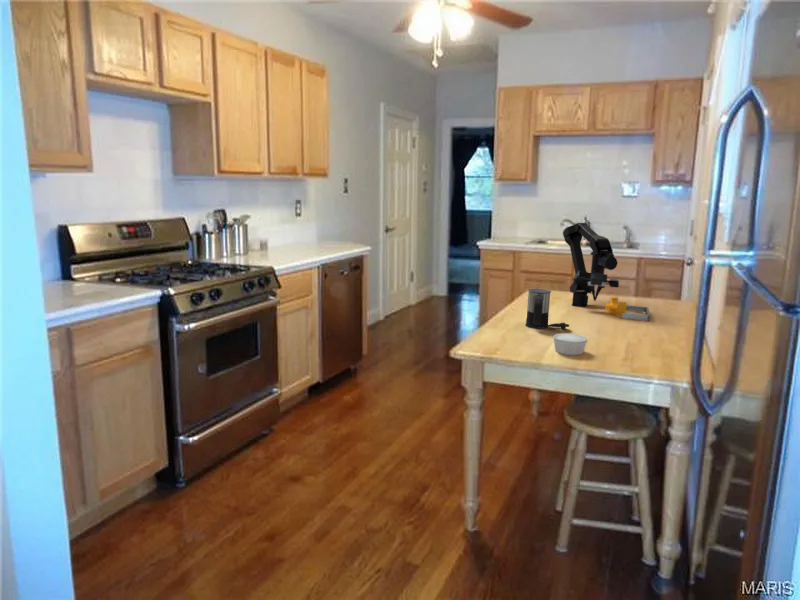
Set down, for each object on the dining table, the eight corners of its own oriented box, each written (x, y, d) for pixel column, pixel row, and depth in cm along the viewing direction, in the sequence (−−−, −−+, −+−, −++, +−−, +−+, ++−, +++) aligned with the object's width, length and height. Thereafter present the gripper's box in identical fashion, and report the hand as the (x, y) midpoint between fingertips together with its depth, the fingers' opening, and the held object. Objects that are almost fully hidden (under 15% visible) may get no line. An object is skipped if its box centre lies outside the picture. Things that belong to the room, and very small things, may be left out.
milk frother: (522, 323, 245) (525, 287, 242) (559, 323, 246) (562, 288, 243) (532, 332, 231) (535, 294, 228) (572, 332, 232) (575, 295, 229)
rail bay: (622, 318, 257) (622, 312, 256) (621, 310, 273) (622, 304, 273) (649, 321, 253) (650, 315, 252) (647, 312, 270) (648, 307, 269)
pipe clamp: (605, 310, 272) (606, 296, 271) (614, 310, 272) (616, 297, 271) (615, 316, 260) (616, 302, 259) (624, 317, 260) (626, 302, 259)
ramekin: (548, 347, 211) (549, 332, 210) (578, 347, 212) (580, 333, 211) (558, 356, 200) (559, 341, 199) (590, 356, 201) (592, 341, 200)
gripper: (575, 267, 260) (572, 301, 263) (620, 270, 254) (616, 306, 257) (576, 263, 270) (573, 297, 274) (620, 266, 264) (616, 301, 268)
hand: (594, 300), depth 268 cm, fingers closed
